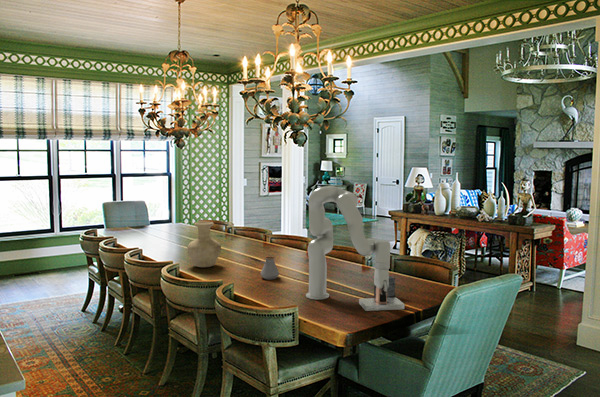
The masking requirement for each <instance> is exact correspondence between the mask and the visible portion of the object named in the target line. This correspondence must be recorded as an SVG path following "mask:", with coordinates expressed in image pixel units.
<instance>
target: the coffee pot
mask: <svg viewBox="0 0 600 397" xmlns="http://www.w3.org/2000/svg"><path fill="white" fill-rule="evenodd" d="M264 259H265V261H262V260H260V259H257V258H254V257H249V258H248V261H250V260H251V261H255V262H258V263H262V264H263V267H262V268H261V271H260V277H262V278H263V279H264V280H268V281H269V280H272V281H273V280H276V279H277V278H278V277H279V275H280V272H279V269H278V267H277V265H276V263H275V259H276V257H274V256H265V257H264Z"/></svg>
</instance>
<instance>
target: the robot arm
mask: <svg viewBox="0 0 600 397" xmlns="http://www.w3.org/2000/svg"><path fill="white" fill-rule="evenodd" d="M331 202H332V203H335V204H336V205H337V207H338V209H339V211H340V213H341V214H342V217H343V219H344V221H345V222H346V225H347V228H348V233H349V234H348V235H349V238H350V240H351V244H353V246H354V249H355V250H356V251H357V253H358V254H359V255H361V256H362V257H363V256H364V257H365V256H369V255H370V254H373V253H374V277H373V286H374V285H375V286H377V287H378V288H379V289H380V291H381V294H380V302H386V294H387V288H388V287H389V276H390V274H389V272H390V271H389V269H390V267H391V266H390V264H391V242H390V241H388V240H383V239H381V240H380V239H379V240H378V239H376V238H372V237H371V238H366V236H365V234H364V231H363V221H364V220H363V219H364V218H363V216H362V215H361V212H360V210H359V208H358V207H357V205H358V202H359V201H358V197H357V195H356V194H355V193H353V192H351V191H349V190H345V189H343V188H341V187H338V186H335V185H328V186H321V187H318V188H316V189H314V190H313V191H311V193H310V195H309V197H308V220H309V221H308V222H309V224H308V225H309V227H308V228H309V232H310V235H311V236H314V237H316V238H314V239H313V240H311V241H310V242H309V243H308V246H307V255H308V292H307V293H305V297H306V298H307V299H310V300H316V301H317V300H318V301H319V300H326V299H329V297H330V294H329V293H328V292H327V279H328V278H327V277H328V276H327V259H326V254H328V253H330V252H332V250H333V248H334V226H333V223H332V221H331V220H330V218H328V217H326V210H325V207H324V204H326V203H331ZM382 287H384V288H382ZM382 289H384V290H383V291H382Z"/></svg>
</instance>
